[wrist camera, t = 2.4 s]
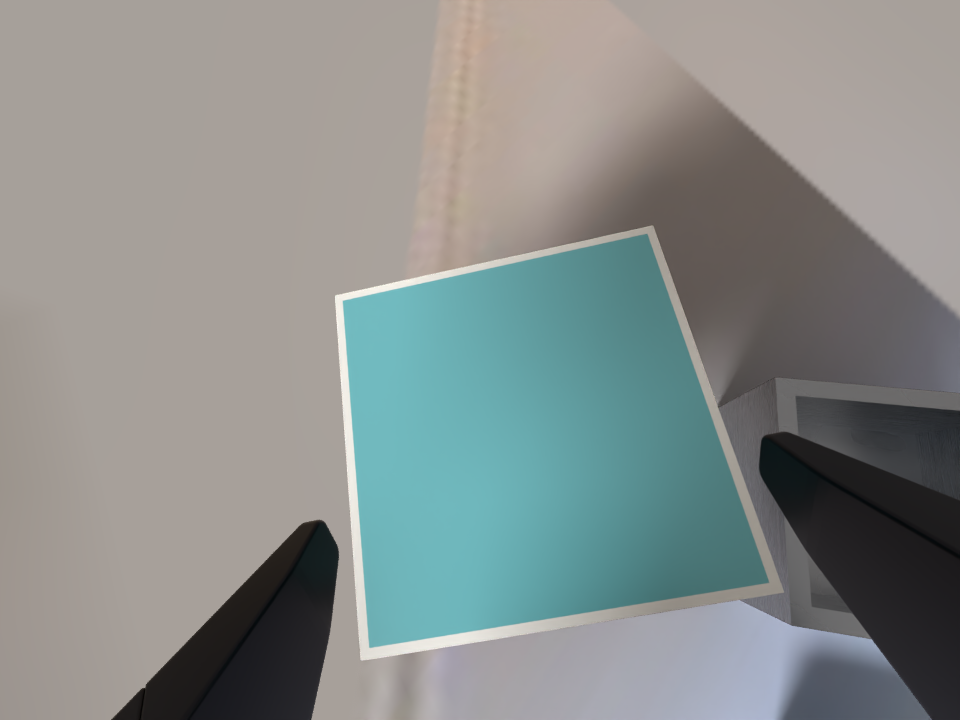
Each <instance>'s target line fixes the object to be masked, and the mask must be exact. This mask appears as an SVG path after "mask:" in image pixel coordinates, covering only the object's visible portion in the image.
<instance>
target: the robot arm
mask: <svg viewBox="0 0 960 720" xmlns="http://www.w3.org/2000/svg"><path fill="white" fill-rule="evenodd" d="M759 472H760V475H761V478H762V480H763V481H764V483H765V485H766V486H767V488H768V490H769V491H770V493H771V495H772V496H773V498H774V500H775V501H776V503H777V505H778V506H779V508H780V510H781V511H782V513H783V515H784V516H785V518H786V520H787V521H788V523H789V525H790V526H791V528H792V530H793V531H794V533H795V534H796V536H797V538H798V539H799V541H800V542H801V544H802V546H803V547H804V549H805V550H806V552H807V553H808V554H809V556H810V557H811V559H812V560H813V561H814V563H815V564H816V565H817V567H818V568H819V569H820V571H821V572H822V573H823V575H824V576H825V577H826V579H827V580H828V581H829V583H830V584H831V585H832V587H833V588H834V589H835V591H836V592H837V593H838V595H839V596H840V597H841V599H842V600H843V601H844V603H845V604H846V605H847V607H848V608H849V609H850V611H851V612H852V613H853V615H854V616H855V617H856V619H857V620H858V621H859V623H860V624H861V625H862V627H863V628H864V629H865V631H866V632H867V633H868V635H869V636H870V637H871V639H872V640H873V641H874V643H875V644H876V645H877V647H878V648H879V649H880V651H881V652H882V653H883V655H884V656H885V657H886V659H887V660H888V661H889V663H890V664H891V665H892V667H893V668H894V669H895V671H896V672H897V673H898V675H899V676H900V677H901V679H902V680H903V681H904V683H905V684H906V685H907V687H908V688H909V689H910V691H911V692H912V693H913V695H914V696H915V697H916V699H917V700H918V701H919V703H920V704H921V705H922V707H923V708H924V709H925V711H926V712H927V713H928V715H929V716H930V717H931V719H932V720H960V500H959V499H956V498H953V497H951V496H948V495H946V494H943V493H941V492H938V491H936V490H933V489H931V488H928V487H926V486H923V485H921V484H918V483H916V482H913V481H911V480H908V479H906V478H903V477H901V476H898V475H896V474H893V473H890V472H888V471H885V470H883V469H880V468H878V467H875V466H873V465H870V464H868V463H865V462H863V461H860V460H858V459H855V458H853V457H850V456H848V455H845V454H843V453H840V452H838V451H835V450H833V449H830V448H827V447H825V446H822V445H820V444H817V443H815V442H812V441H810V440H807V439H805V438H802V437H800V436H797V435H795V434H792V433H789V432H785V431H783V432H777V433H771V434H766V435H764V436H763V437H762V439H761V445H760V456H759ZM338 560H339V551H338V547H337V544H336V542H335V540H334V538H333V537H332V535H331V533H330V531H329V529H328V527H327V525H326V523H325V522H324V521H322V520H315V521H310V522H305V523H303V524H301V525H300V526H299V527H298V528H297V529H296V530H295V531H294V532H293V533H292V534H291V535H290V536H289V537H288V538H287V539H286V540H285V541H284V542H283V543H282V545H281V546H280V547H279V548H278V549H277V550H276V551H275V552H274V553H273V554H272V555H271V556H270V557H269V558H268V559H267V560H266V561H265V562H264V563H263V564H262V565H261V566H260V567H259V568H258V569H257V570H256V571H255V572H254V574H252V576H250V578H249V579H248V580H247V581H246V582H245V583H244V584H243V585H242V586H241V587H240V588H239V589H238V590H237V591H236V592H235V593H234V594H233V595H232V596H231V597H230V598H229V599H228V600H227V601H226V602H225V603H224V604H223V605H222V606H221V608H220V609H218V611H217V612H216V613H215V614H214V615H213V616H212V617H211V618H210V619H209V620H208V621H207V622H206V623H205V624H204V625H203V626H202V627H201V628H200V629H199V630H198V631H197V632H196V633H195V634H194V635H193V636H192V637H191V638H190V639H189V640H188V642H186V644H185V645H184V646H183V647H182V648H181V649H180V650H179V651H178V652H177V653H176V654H175V655H174V656H173V657H172V658H171V659H170V660H169V661H168V662H167V663H166V664H165V665H164V666H163V667H162V668H161V669H160V670H159V671H158V673H157V674H155V676H154V677H153V678H152V679H151V680H150V681H149V682H148V683H147V684H146V687H145V688H142V689H141V690H140V691H139V692H138V693H137V694H136V695H135V696H134V697H133V698H132V699H131V700H130V701H129V702H128V703H127V704H126V705H125V706H124V707H123V708H122V709H121V710H120V711H119V712H118V713H117V715H115V716H114V718H113V719H111V720H311V718H312V713H313V709H314V705H315V700H316V695H317V691H318V686H319V682H320V677H321V672H322V668H323V663H324V659H325V654H326V649H327V644H328V639H329V634H330V628H331V621H332V613H333V604H334V595H335V586H336V577H337V569H338Z"/></svg>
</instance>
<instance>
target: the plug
mask: <svg viewBox="0 0 960 720" xmlns="http://www.w3.org/2000/svg"><path fill="white" fill-rule="evenodd" d="M335 304H336V318H337V332H338V346H339V361H340V375H341V388H342V403H343V416H344V431H345V445H346V460H347V474H348V489H349V503H350V516H351V531H352V545H353V560H354V573H355V588H356V601H357V602H356V603H357V617H358V631H359V645H360V659H361V661H363V660H370V659H376V658H382V657H388V656H394V655H401V654H407V653H413V652H419V651H425V650H432V649H438V648H444V647H450V646H456V645H463V644H469V643H475V642H481V641H487V640H494V639H500V638H506V637H512V636H518V635H525V634H531V633H537V632H543V631H549V630H555V629H562V628H568V627H574V626H580V625H586V624H593V623H599V622H605V621H611V620H617V619H624V618H630V617H636V616H642V615H648V614H655V613H661V612H667V611H673V610H679V609H686V608H692V607H698V606H704V605H710V604H717V603H723V602H729V601H735V600H741V599H748V598H754V597H760V596H766V595H772V594H779V593H784V590H783V587H782V585H781V582H780V579H779V576H778V573H777V571H776V568H775V565H774V562H773V559H772V557H771V554H770V551H769V548H768V545H767V543H766V540H765V537H764V534H763V531H762V529H761V526H760V523H759V520H758V517H757V515H756V512H755V509H754V506H753V504H752V501H751V498H750V495H749V492H748V490H747V487H746V484H745V481H744V478H743V476H742V473H741V470H740V467H739V464H738V462H737V459H736V456H735V453H734V450H733V448H732V445H731V442H730V439H729V436H728V434H727V431H726V428H725V425H724V422H723V420H722V417H721V414H720V411H719V408H718V406H717V403H716V400H715V397H714V394H713V392H712V389H711V386H710V383H709V380H708V378H707V375H706V372H705V369H704V366H703V364H702V361H701V358H700V355H699V352H698V350H697V347H696V344H695V341H694V338H693V336H692V333H691V330H690V327H689V324H688V322H687V319H686V316H685V313H684V310H683V308H682V305H681V302H680V299H679V296H678V294H677V291H676V288H675V285H674V282H673V280H672V277H671V274H670V271H669V268H668V266H667V263H666V260H665V257H664V254H663V252H662V249H661V246H660V243H659V240H658V238H657V235H656V232H655V229H654V226H653V225H652V226H647V227H643V228H638V229H634V230H629V231H625V232H620V233H616V234H611V235H607V236H602V237H598V238H593V239H589V240H584V241H579V242H575V243H570V244H566V245H561V246H557V247H552V248H548V249H543V250H539V251H534V252H530V253H525V254H521V255H516V256H512V257H507V258H503V259H498V260H494V261H489V262H485V263H480V264H476V265H471V266H467V267H462V268H458V269H453V270H449V271H444V272H439V273H435V274H430V275H426V276H421V277H417V278H412V279H408V280H403V281H399V282H395V283H390V284H385V285H381V286H376V287H372V288H367V289H363V290H359V291H354V292H350V293H345V294H341V295H336V296H335Z"/></svg>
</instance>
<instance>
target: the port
mask: <svg viewBox="0 0 960 720" xmlns="http://www.w3.org/2000/svg"><path fill="white" fill-rule="evenodd" d="M719 411H720V414H721V417H722V420H723V422H724V425H725V428H726V431H727V434H728V436H729V439H730V442H731V445H732V448H733V450H734V453H735V456H736V459H737V462H738V464H739V467H740V470H741V473H742V476H743V478H744V481H745V484H746V487H747V490H748V492H749V495H750V498H751V501H752V504H753V506H754V509H755V512H756V515H757V517H758V520H759V523H760V526H761V529H762V531H763V534H764V537H765V540H766V543H767V545H768V548H769V551H770V554H771V557H772V559H773V562H774V565H775V568H776V571H777V573H778V576H779V579H780V582H781V585H782V587H783V590H784V593H779V594H772V595H766V596H760V597H754V598H748V599H741V600H740V601H742V602H745V603H747V604H749V605H751V606H753V607H755V608H757V609H759V610H761V611H763V612H765V613H767V614H769V615H771V616H773V617H775V618H777V619H779V620H781V621H783V622H785V623H787V624H789V625H792V626H797V627H803V628H809V629H815V630H821V631H827V632H833V633H839V634H845V635H851V636H856V637H862V638H868V639H871V637H870V636H869V635H868V633H867V632H866V631H865V629H864V628H863V627H862V625H861V624H860V623H859V621H858V620H857V619H856V617H855V616H854V615H853V613H852V612H851V611H850V609H849V608H848V607H847V605H846V604H845V603H844V601H843V600H842V599H841V597H840V596H839V595H838V593H837V592H836V591H835V589H834V588H833V587H832V585H831V584H830V583H829V581H828V580H827V579H826V577H825V576H824V575H823V573H822V572H821V571H820V569H819V568H818V567H817V565H816V564H815V563H814V561H813V560H812V559H811V557H810V556H809V554H808V553H807V552H806V550H805V549H804V547H803V546H802V544H801V542H800V541H799V539H798V538H797V536H796V534H795V533H794V531H793V530H792V528H791V526H790V525H789V523H788V521H787V520H786V518H785V516H784V515H783V513H782V511H781V510H780V508H779V506H778V505H777V503H776V501H775V500H774V498H773V496H772V495H771V493H770V491H769V490H768V488H767V486H766V485H765V483H764V481H763V480H762V478H761V475H760V472H759V456H760V445H761V439H762V437H763V436H764V435H766V434H771V433H777V432H783V431H785V432H789V433H792V434H795V435H797V436H800V437H802V438H805V439H807V440H810V441H812V442H815V443H817V444H820V445H822V446H825V447H827V448H830V449H833V450H835V451H838V452H840V453H843V454H845V455H848V456H850V457H853V458H855V459H858V460H860V461H863V462H865V463H868V464H870V465H873V466H875V467H878V468H880V469H883V470H885V471H888V472H890V473H893V474H896V475H898V476H901V477H903V478H906V479H908V480H911V481H913V482H916V483H918V484H921V485H923V486H926V487H928V488H931V489H933V490H936V491H938V492H941V493H943V494H946V495H948V496H951V497H953V498H956V499H959V500H960V393H951V392H940V391H928V390H917V389H905V388H894V387H882V386H870V385H859V384H847V383H836V382H824V381H812V380H801V379H789V378H778V377H775V378H773V379H771V380H769V381H768V382H766V383H764V384H762V385H760V386H758V387H756V388H754V389H752V390H751V391H749V392H747V393H745V394H743V395H741V396H739V397H737V398H736V399H734V400H732V401H730V402H728V403H726V404H724V405H722V406H720V407H719Z"/></svg>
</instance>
